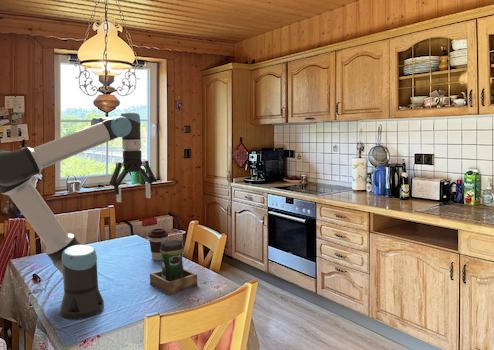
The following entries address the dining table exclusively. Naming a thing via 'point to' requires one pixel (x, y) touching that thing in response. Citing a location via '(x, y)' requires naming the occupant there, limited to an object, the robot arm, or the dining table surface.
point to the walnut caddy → (173, 282)
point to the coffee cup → (157, 242)
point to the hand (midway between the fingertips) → (134, 200)
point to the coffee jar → (172, 260)
